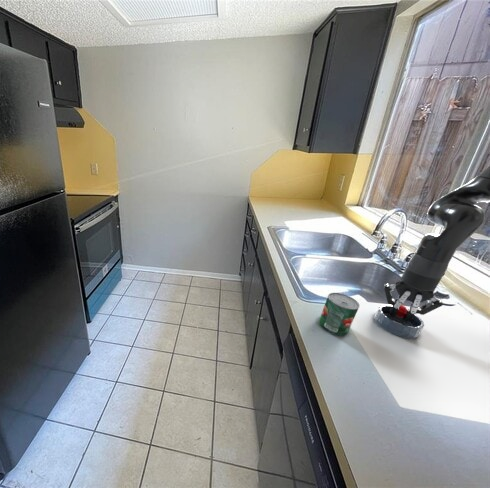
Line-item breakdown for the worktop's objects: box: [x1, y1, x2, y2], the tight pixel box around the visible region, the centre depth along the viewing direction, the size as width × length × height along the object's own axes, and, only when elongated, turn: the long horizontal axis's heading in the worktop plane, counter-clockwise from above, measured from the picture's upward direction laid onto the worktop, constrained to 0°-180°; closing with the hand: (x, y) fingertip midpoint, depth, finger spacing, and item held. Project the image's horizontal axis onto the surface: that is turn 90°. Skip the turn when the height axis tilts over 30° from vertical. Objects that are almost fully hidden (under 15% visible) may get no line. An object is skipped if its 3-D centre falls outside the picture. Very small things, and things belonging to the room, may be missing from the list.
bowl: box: [373, 304, 425, 339], centre depth 80 cm, size 11×11×5 cm
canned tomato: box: [318, 292, 360, 337], centre depth 77 cm, size 8×8×11 cm
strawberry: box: [396, 303, 408, 317], centre depth 81 cm, size 4×4×4 cm
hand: (398, 318), depth 80 cm, fingers closed on strawberry, 2 cm apart
